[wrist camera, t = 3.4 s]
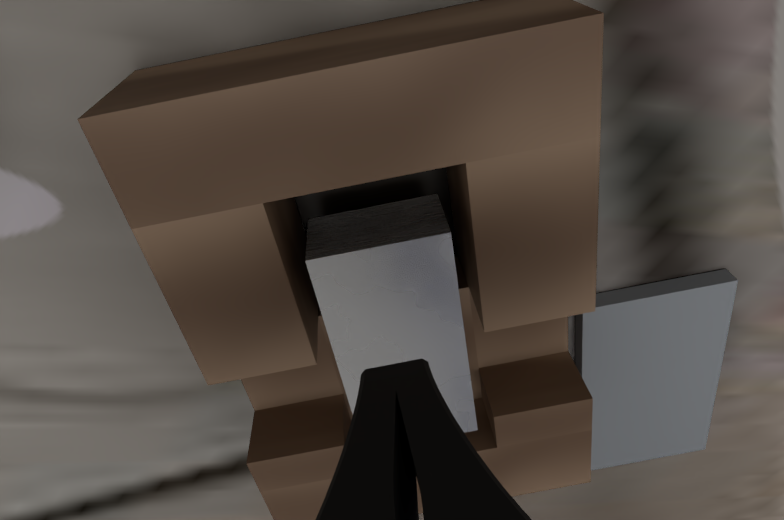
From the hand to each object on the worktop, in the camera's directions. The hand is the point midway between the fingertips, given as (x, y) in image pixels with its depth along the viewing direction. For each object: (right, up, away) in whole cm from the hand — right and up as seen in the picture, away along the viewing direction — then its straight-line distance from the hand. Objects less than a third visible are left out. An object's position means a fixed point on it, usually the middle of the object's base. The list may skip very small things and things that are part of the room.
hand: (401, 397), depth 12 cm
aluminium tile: (0, +1, +7) cm, 7 cm away
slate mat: (+11, -2, +13) cm, 17 cm away
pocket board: (0, +3, +9) cm, 9 cm away
